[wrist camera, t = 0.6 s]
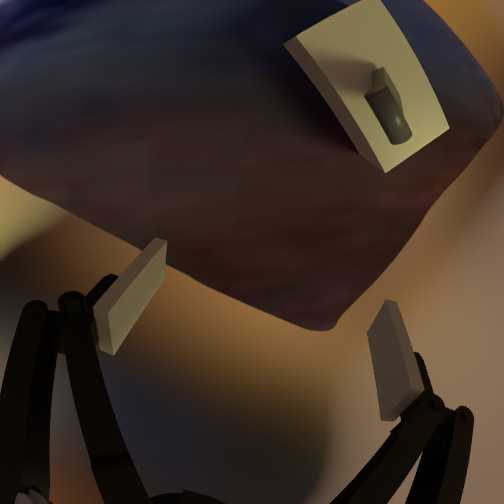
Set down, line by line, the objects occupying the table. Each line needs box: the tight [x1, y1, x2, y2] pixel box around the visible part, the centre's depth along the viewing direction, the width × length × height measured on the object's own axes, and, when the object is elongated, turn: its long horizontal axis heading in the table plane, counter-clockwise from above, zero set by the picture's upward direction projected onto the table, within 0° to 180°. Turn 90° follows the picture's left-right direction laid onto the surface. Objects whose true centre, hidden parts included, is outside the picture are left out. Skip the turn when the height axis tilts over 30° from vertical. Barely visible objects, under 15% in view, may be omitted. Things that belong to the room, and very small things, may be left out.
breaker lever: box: [364, 67, 412, 145], centre depth 25 cm, size 5×2×11 cm, turn 38°
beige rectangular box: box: [283, 0, 449, 173], centre depth 33 cm, size 20×12×9 cm, turn 38°
